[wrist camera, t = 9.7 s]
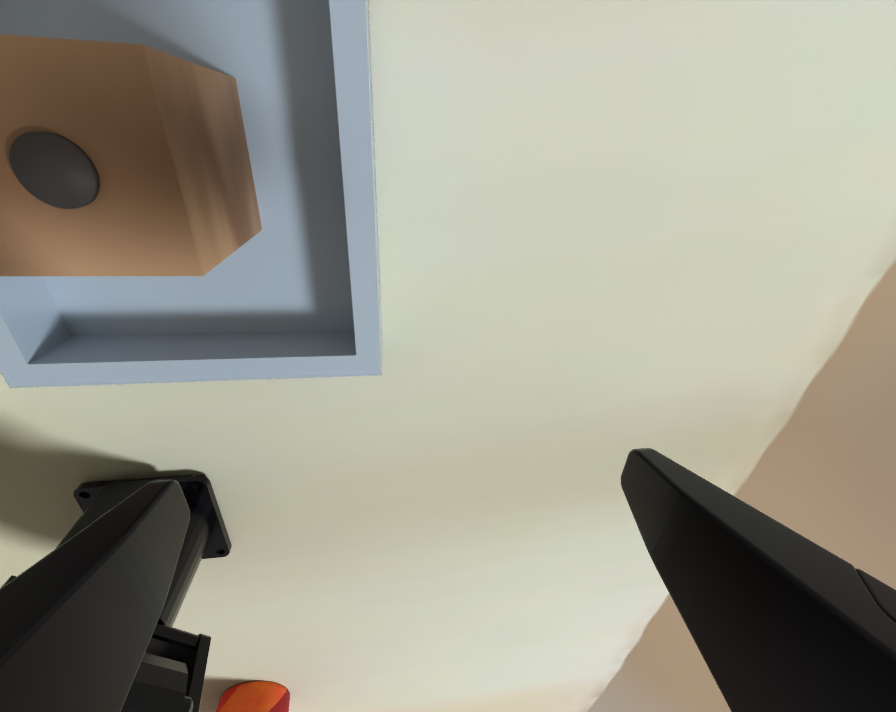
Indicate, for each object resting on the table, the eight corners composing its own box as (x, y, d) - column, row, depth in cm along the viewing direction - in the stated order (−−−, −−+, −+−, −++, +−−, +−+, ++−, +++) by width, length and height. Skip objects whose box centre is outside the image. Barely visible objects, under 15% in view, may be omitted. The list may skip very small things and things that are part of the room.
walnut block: (262, 229, 16) (199, 278, 11) (124, 227, 15) (-17, 278, 10) (235, 78, 14) (137, 42, 8) (70, 67, 13) (-155, 21, 8)
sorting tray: (382, 343, 20) (381, 375, 17) (64, 350, 18) (9, 387, 15) (362, -129, 12) (357, -200, 9) (-201, -207, 10) (-403, -323, 8)
